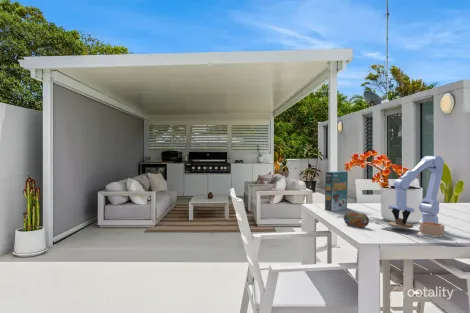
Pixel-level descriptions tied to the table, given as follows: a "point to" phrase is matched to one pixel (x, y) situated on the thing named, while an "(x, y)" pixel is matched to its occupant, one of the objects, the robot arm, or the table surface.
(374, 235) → the table surface
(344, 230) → the table surface
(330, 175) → the cake mix box
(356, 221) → the tin
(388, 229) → the mat
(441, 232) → the bowl
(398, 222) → the lid
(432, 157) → the robot arm
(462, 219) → the table surface
